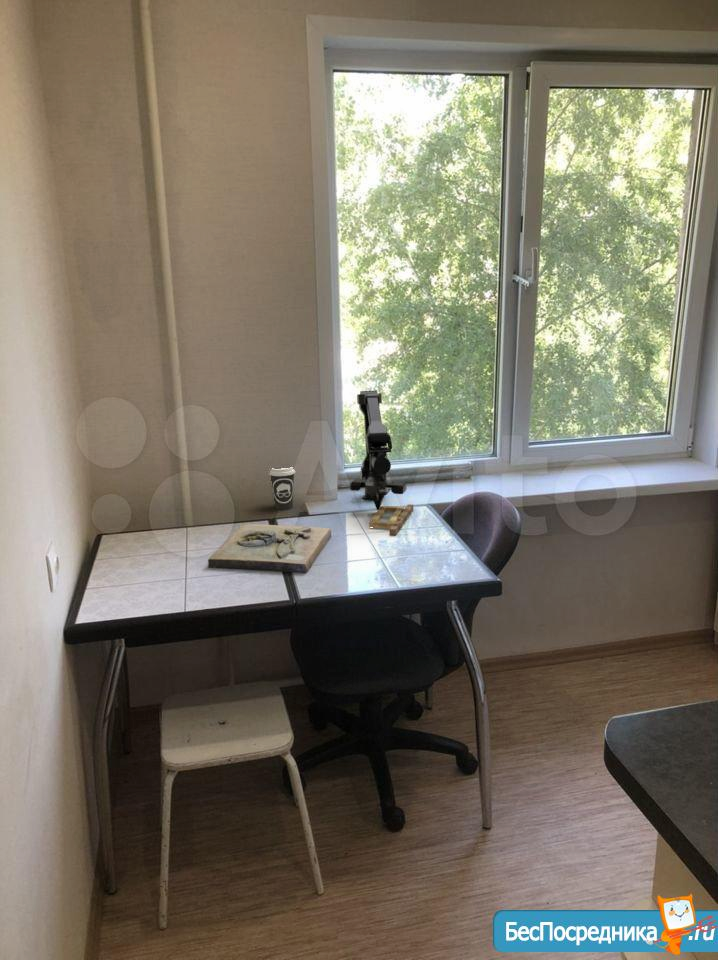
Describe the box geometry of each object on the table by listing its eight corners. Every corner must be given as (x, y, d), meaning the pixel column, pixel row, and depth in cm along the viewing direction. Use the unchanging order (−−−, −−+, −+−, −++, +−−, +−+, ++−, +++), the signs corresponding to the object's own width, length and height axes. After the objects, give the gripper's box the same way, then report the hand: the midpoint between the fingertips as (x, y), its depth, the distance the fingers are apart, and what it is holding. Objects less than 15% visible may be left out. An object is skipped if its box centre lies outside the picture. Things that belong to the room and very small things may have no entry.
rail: (407, 509, 256) (407, 502, 255) (413, 510, 255) (413, 502, 255) (389, 535, 232) (389, 526, 231) (395, 535, 232) (395, 527, 231)
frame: (381, 511, 255) (381, 505, 255) (404, 512, 253) (404, 506, 253) (369, 528, 239) (369, 522, 238) (393, 529, 237) (393, 523, 236)
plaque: (241, 513, 236) (331, 516, 230) (243, 533, 239) (332, 537, 232) (203, 548, 208) (305, 553, 202) (206, 571, 210) (306, 577, 204)
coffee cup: (302, 505, 264) (300, 465, 260) (286, 513, 256) (283, 471, 252) (281, 501, 269) (279, 462, 265) (264, 509, 261) (262, 468, 257)
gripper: (344, 470, 244) (345, 514, 249) (399, 474, 239) (399, 519, 243) (354, 462, 254) (355, 505, 259) (407, 465, 249) (406, 509, 254)
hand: (378, 509), depth 253 cm, fingers closed
